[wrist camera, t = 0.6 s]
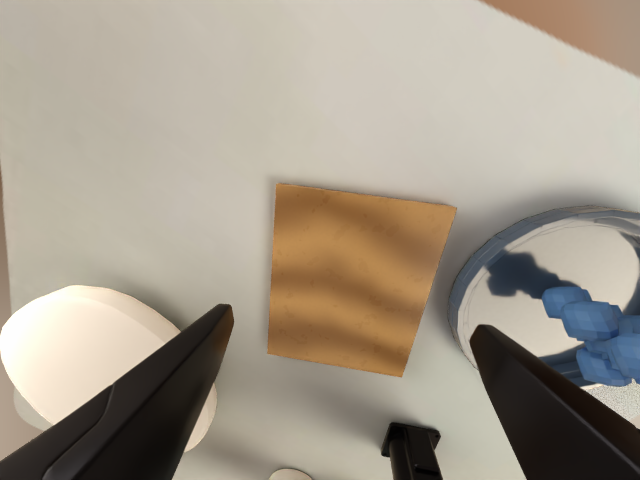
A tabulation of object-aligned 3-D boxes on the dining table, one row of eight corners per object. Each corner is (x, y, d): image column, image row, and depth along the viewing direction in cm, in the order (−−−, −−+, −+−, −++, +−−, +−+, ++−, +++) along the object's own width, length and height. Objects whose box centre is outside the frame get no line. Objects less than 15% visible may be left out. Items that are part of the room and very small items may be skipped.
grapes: (478, 303, 23) (605, 439, 12) (526, 249, 21) (739, 351, 10) (574, 350, 24) (780, 520, 13) (631, 301, 22) (946, 456, 10)
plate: (153, 494, 33) (-24, 400, 30) (185, 440, 39) (39, 357, 36) (236, 425, 21) (-39, 260, 18) (263, 364, 27) (58, 231, 24)
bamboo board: (399, 370, 27) (401, 377, 26) (269, 347, 28) (267, 353, 27) (452, 206, 21) (457, 208, 20) (279, 182, 21) (276, 183, 20)
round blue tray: (600, 388, 25) (623, 408, 23) (425, 358, 26) (432, 375, 24) (724, 222, 19) (771, 230, 17) (485, 191, 20) (502, 195, 18)
